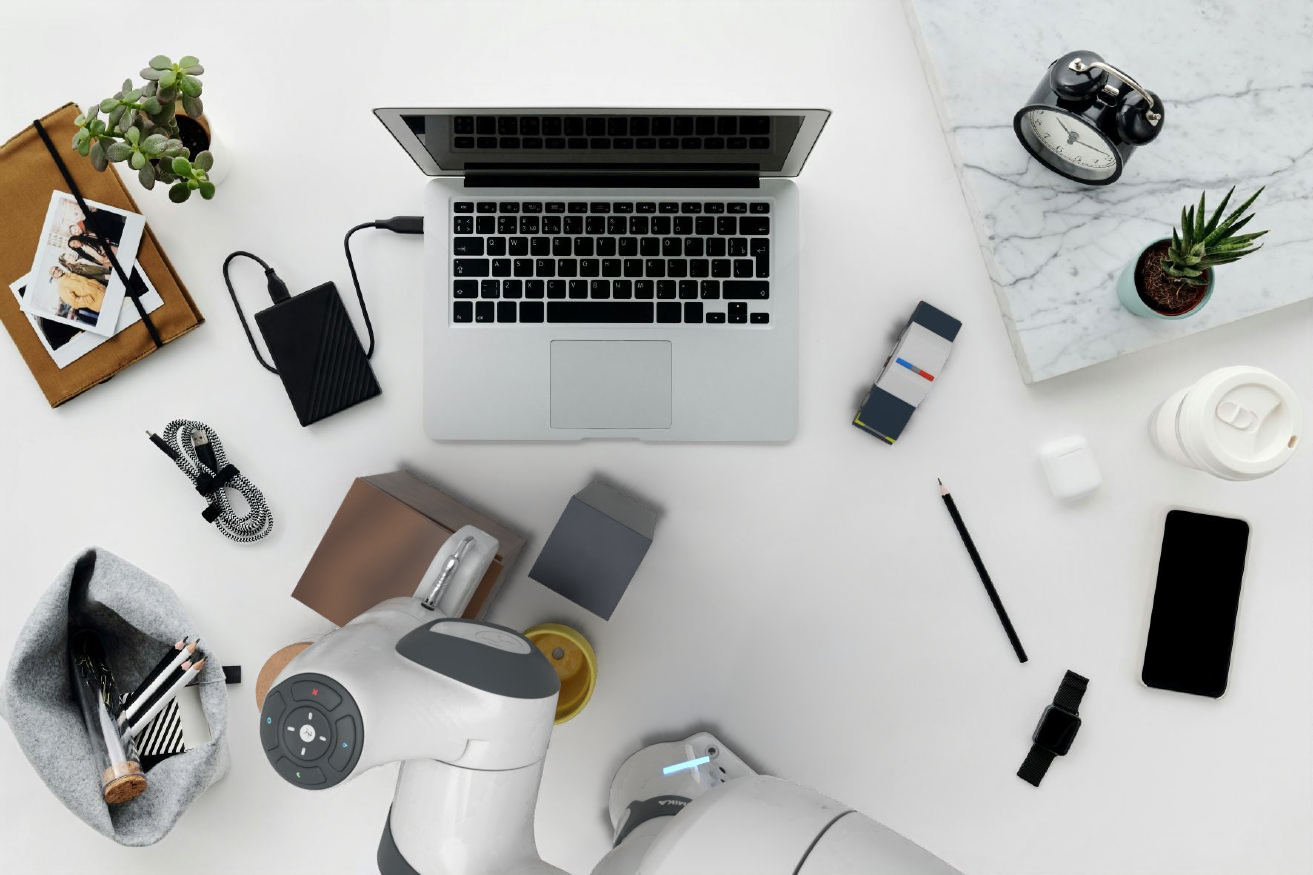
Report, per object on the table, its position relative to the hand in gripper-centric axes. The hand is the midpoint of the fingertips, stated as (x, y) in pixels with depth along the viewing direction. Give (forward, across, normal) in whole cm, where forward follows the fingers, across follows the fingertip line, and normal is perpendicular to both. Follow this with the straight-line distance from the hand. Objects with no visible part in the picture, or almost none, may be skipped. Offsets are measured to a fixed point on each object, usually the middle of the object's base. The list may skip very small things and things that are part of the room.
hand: (447, 614), depth 76 cm
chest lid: (+2, 0, -6) cm, 6 cm away
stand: (+16, -13, +10) cm, 23 cm away
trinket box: (+16, +18, -10) cm, 26 cm away
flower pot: (+16, +3, +12) cm, 20 cm away
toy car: (+16, -45, +31) cm, 57 cm away
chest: (+16, 0, -6) cm, 17 cm away
